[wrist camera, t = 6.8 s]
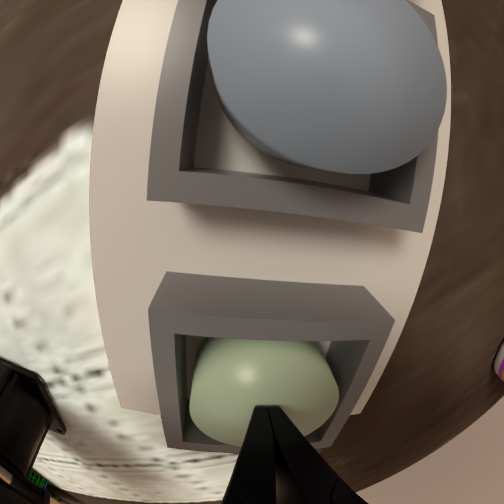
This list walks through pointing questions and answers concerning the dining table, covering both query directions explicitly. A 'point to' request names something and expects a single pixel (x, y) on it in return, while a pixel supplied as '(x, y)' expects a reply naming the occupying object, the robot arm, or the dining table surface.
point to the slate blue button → (328, 80)
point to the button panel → (239, 229)
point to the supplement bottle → (500, 362)
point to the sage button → (259, 385)
